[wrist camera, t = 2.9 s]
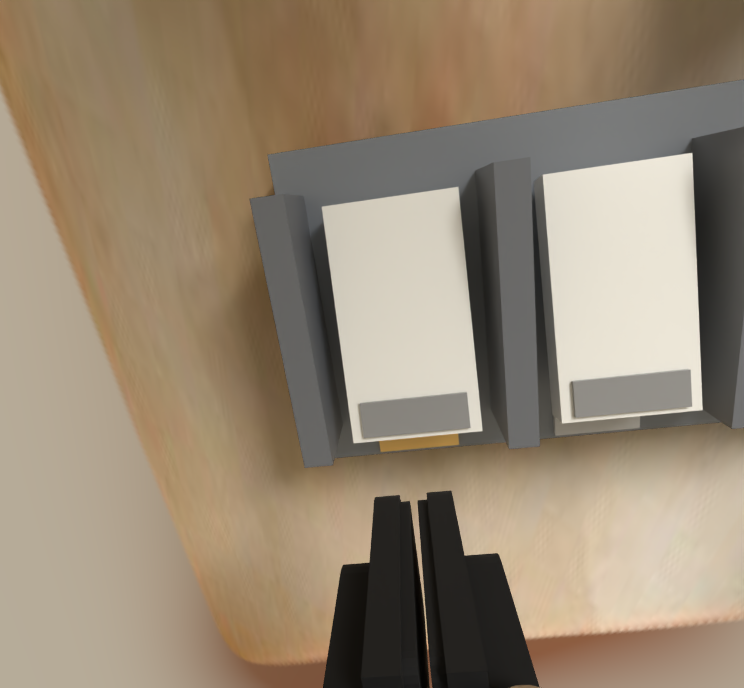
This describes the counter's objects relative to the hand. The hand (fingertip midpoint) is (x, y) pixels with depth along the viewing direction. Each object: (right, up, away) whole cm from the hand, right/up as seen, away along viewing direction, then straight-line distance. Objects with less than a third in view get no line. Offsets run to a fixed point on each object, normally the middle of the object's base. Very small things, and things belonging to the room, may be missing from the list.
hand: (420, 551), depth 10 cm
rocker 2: (+7, +6, +5) cm, 11 cm away
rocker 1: (0, +5, +6) cm, 8 cm away
